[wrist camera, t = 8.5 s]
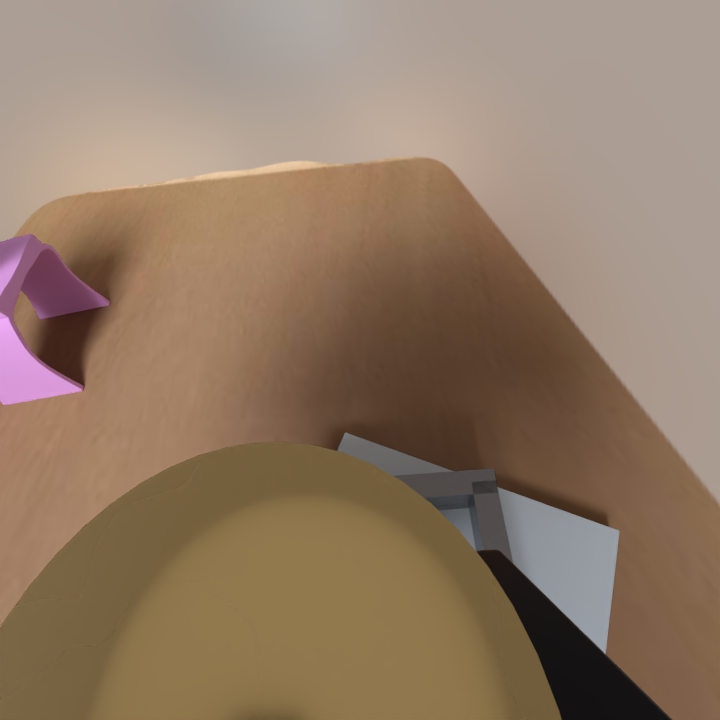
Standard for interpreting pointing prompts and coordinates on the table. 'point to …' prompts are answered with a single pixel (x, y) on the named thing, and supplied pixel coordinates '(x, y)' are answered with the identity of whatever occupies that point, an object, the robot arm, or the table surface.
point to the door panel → (533, 543)
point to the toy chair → (49, 298)
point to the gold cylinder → (269, 604)
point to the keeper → (467, 502)
